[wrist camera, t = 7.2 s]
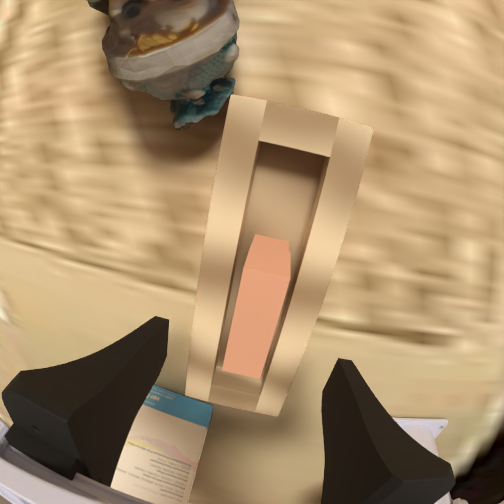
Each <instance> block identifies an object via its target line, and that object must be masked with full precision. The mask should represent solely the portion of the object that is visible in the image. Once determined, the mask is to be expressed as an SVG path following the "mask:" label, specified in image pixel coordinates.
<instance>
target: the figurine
mask: <svg viewBox="0 0 504 504" xmlns="http://www.w3.org/2000/svg"><path fill="white" fill-rule="evenodd" d="M87 1H88V3H89V5H90V7H92V8H94V9H96V10H99V11H101V12H103V13H104V14H107V15H109V16H110V20H111V24H110V26H109V27H108V28H107V31H106V34H105V36H104V38H103V40H102V48H103V51H104V53H105V55H106V57H107V61H108V66H109V69H110V72H111V74H112V76H113V77H116V78H119V79H120V82H121V83H122V84H123V85H124V86H125V87H126V88H128V89H130V90H135V91H141V92H145V93H149V94H151V95H152V96H153V97H155V98H157V99H159V100H171V105H170V110H171V113H172V114H173V115H174V116H175V117H174V119H173V122H172V125H171V127H172V128H173V125H175V130H177V129H178V130H180V129H181V128H183V129H186V128H187V127H188V128H189V124H190V123H195V122H197V123H198V122H199V121H200V120H201V119H202V118H204V117H206V116H212V115H215V114H216V113H218V112H219V110H220V109H221V107H222V106H223V104H224V103H225V101H226V100H227V98H228V97H229V95H230V94H231V93H232V92H233V90H234V88H233V86H234V84H235V79H234V78H229V77H223V76H224V75H225V74H227V73H228V72H229V71H230V70H231V69H232V67H233V64H234V62H235V60H236V59H237V58H238V56H239V47H238V46H237V44H236V40H237V30H238V28H239V18H238V14H237V11H236V8H235V5H234V2H233V0H87Z"/></svg>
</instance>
